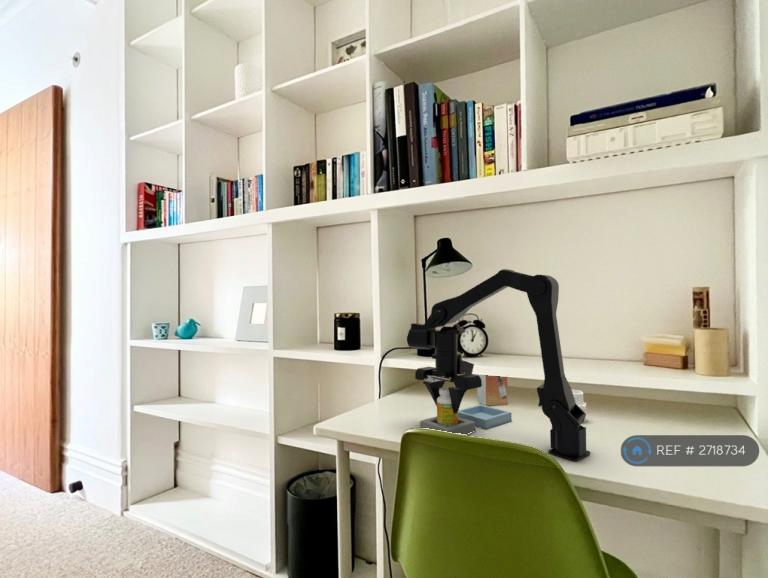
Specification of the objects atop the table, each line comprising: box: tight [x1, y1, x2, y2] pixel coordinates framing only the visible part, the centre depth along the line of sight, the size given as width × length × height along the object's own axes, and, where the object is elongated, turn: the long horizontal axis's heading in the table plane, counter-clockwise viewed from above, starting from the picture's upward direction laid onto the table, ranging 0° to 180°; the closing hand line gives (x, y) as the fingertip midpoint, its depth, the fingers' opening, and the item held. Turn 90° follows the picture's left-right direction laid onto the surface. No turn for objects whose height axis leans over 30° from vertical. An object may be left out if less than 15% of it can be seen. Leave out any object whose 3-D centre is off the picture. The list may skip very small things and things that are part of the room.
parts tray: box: [458, 404, 513, 430], centre depth 119 cm, size 11×11×2 cm
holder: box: [419, 416, 477, 435], centre depth 111 cm, size 10×10×2 cm
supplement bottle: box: [436, 386, 458, 427], centre depth 111 cm, size 5×5×10 cm
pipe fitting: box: [571, 389, 587, 411], centre depth 118 cm, size 6×7×8 cm
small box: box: [476, 375, 509, 407], centre depth 138 cm, size 8×6×10 cm
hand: (447, 410), depth 111 cm, fingers closed on supplement bottle, 5 cm apart
